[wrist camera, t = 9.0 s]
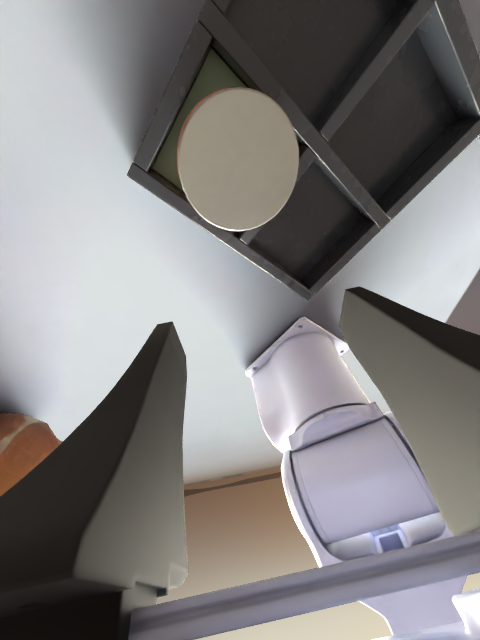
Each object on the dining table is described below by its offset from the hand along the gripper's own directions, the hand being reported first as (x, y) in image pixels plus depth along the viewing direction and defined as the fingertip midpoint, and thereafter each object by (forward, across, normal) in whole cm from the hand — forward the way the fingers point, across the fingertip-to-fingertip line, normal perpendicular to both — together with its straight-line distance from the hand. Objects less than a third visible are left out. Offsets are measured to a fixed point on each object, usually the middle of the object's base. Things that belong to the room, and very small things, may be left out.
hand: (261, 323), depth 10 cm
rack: (+10, -5, -5) cm, 13 cm away
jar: (+10, 0, -5) cm, 11 cm away
